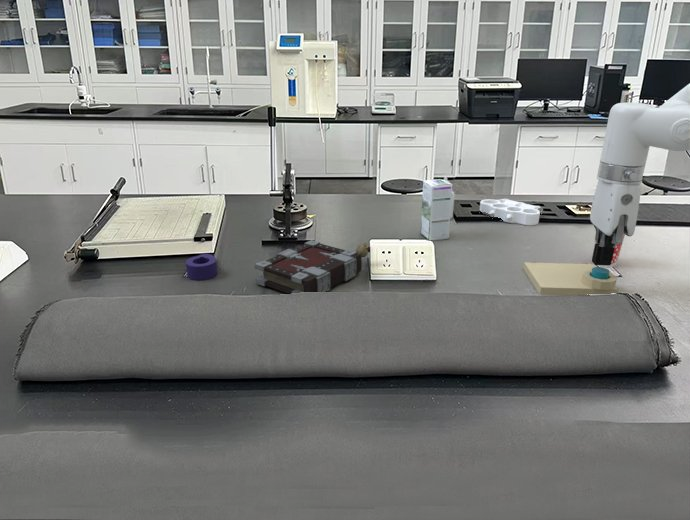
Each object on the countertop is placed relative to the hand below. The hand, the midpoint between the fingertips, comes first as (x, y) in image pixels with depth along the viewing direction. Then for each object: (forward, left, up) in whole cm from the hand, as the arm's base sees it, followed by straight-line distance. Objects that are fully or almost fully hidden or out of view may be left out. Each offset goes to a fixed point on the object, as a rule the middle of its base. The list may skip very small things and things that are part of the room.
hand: (600, 263), depth 105 cm
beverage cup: (-8, -15, -6) cm, 18 cm away
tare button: (0, 0, -3) cm, 3 cm away
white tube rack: (+5, -50, -6) cm, 51 cm away
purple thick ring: (+82, -6, -6) cm, 83 cm away
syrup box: (+29, -31, -6) cm, 43 cm away
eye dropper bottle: (+25, -47, -6) cm, 54 cm away
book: (+56, -5, -6) cm, 57 cm away
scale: (+4, -4, -6) cm, 8 cm away
